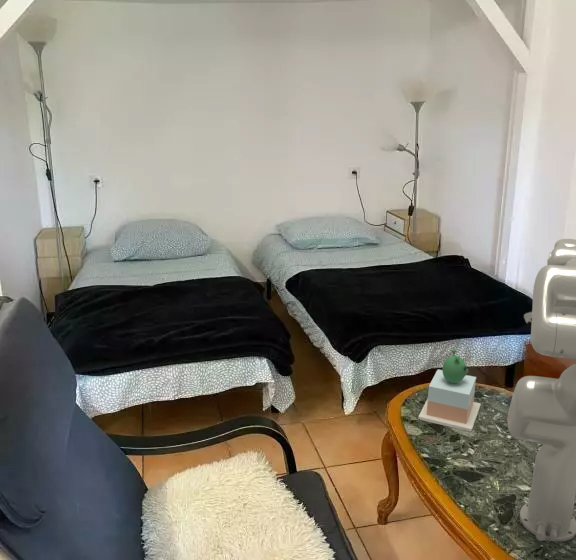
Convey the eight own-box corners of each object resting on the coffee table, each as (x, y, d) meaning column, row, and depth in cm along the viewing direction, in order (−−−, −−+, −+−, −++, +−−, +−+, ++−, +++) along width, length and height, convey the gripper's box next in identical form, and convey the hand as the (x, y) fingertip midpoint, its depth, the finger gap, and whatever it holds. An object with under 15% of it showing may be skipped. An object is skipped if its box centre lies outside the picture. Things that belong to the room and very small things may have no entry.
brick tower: (471, 431, 179) (475, 399, 175) (418, 419, 185) (420, 387, 182) (480, 406, 192) (483, 375, 188) (430, 395, 199) (432, 365, 195)
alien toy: (469, 387, 181) (473, 357, 178) (444, 387, 182) (446, 357, 178) (463, 376, 188) (466, 347, 185) (439, 376, 188) (441, 347, 185)
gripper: (527, 287, 154) (519, 348, 159) (603, 296, 147) (591, 360, 153) (528, 279, 160) (521, 338, 166) (601, 287, 154) (590, 348, 159)
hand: (555, 348), depth 159 cm, fingers open, 9 cm apart
